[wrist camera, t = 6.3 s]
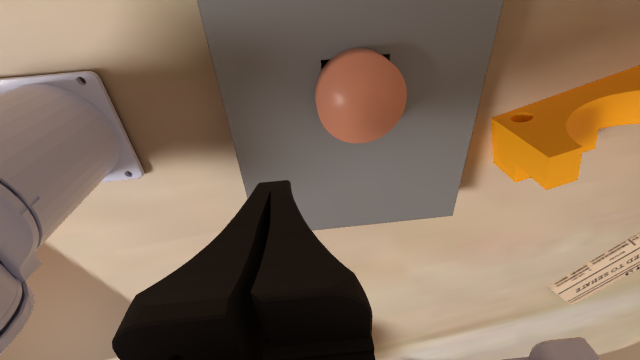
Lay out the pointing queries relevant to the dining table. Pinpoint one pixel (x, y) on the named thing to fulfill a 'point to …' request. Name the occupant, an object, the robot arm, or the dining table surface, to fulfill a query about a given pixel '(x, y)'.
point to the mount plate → (301, 111)
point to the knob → (360, 95)
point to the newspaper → (600, 272)
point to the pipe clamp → (563, 128)
